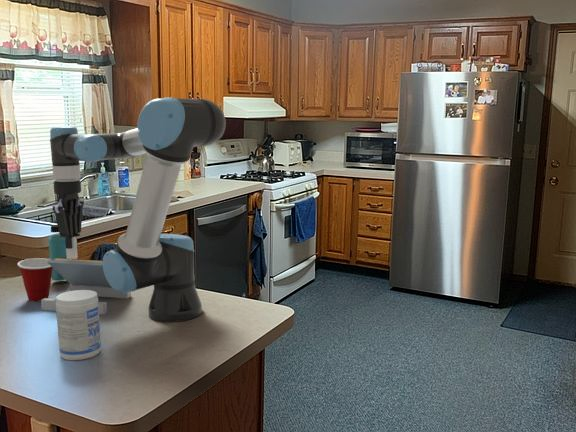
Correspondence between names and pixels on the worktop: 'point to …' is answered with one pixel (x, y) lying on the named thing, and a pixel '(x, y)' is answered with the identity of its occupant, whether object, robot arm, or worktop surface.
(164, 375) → the worktop surface
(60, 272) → the door
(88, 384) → the worktop surface
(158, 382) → the worktop surface
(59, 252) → the beverage bottle
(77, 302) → the supplement tub
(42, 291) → the plastic cup
